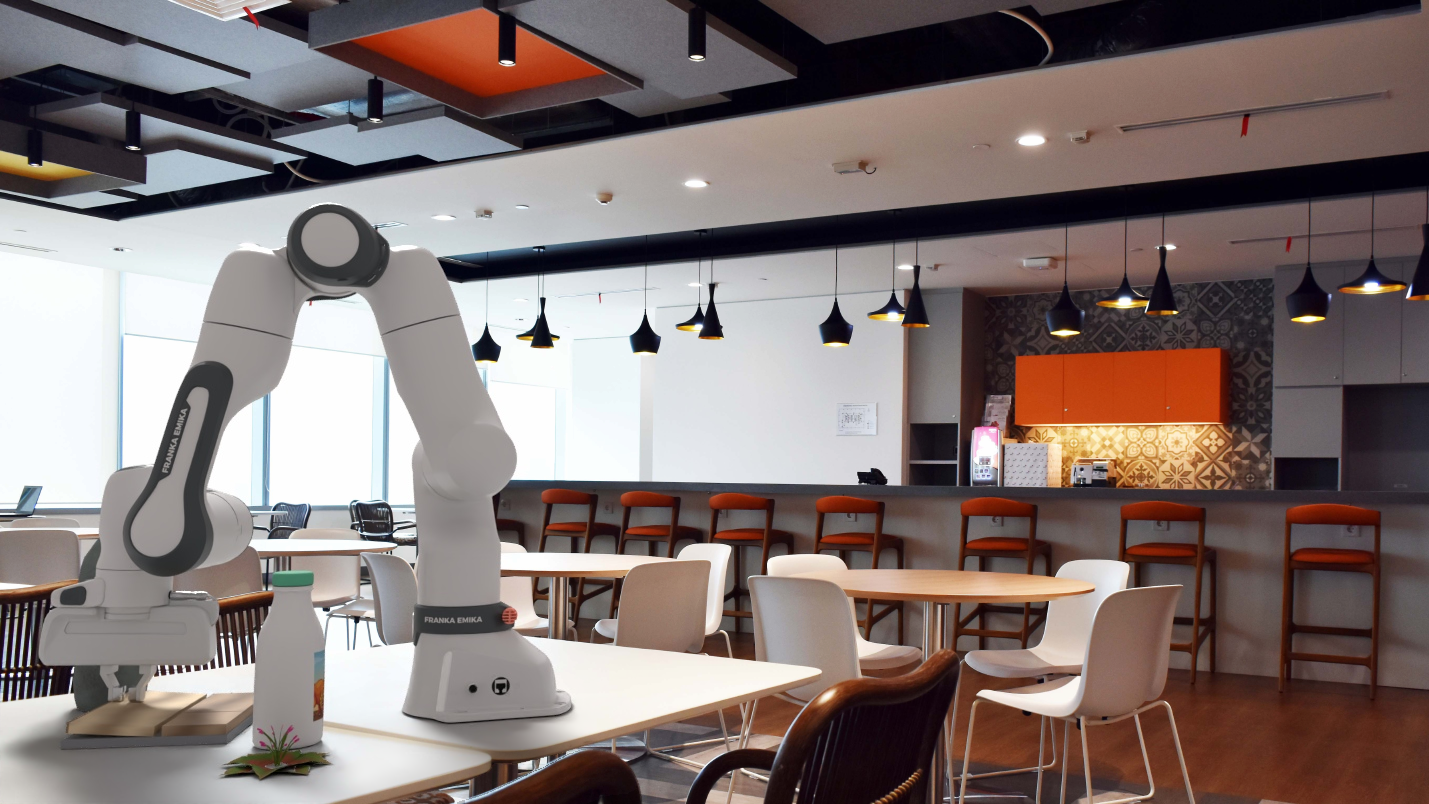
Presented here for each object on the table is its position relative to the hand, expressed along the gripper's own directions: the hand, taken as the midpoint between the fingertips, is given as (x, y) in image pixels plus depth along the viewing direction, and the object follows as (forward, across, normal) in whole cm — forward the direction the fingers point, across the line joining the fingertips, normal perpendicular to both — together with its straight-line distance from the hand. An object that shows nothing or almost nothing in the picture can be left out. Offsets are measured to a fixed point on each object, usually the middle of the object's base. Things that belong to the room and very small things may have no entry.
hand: (126, 700), depth 135 cm
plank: (+1, -3, +3) cm, 4 cm away
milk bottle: (+2, -23, +14) cm, 27 cm away
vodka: (+3, +6, -12) cm, 14 cm away
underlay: (+3, -7, +3) cm, 8 cm away
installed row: (+2, -12, +3) cm, 12 cm away
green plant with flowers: (+3, -24, +24) cm, 34 cm away
